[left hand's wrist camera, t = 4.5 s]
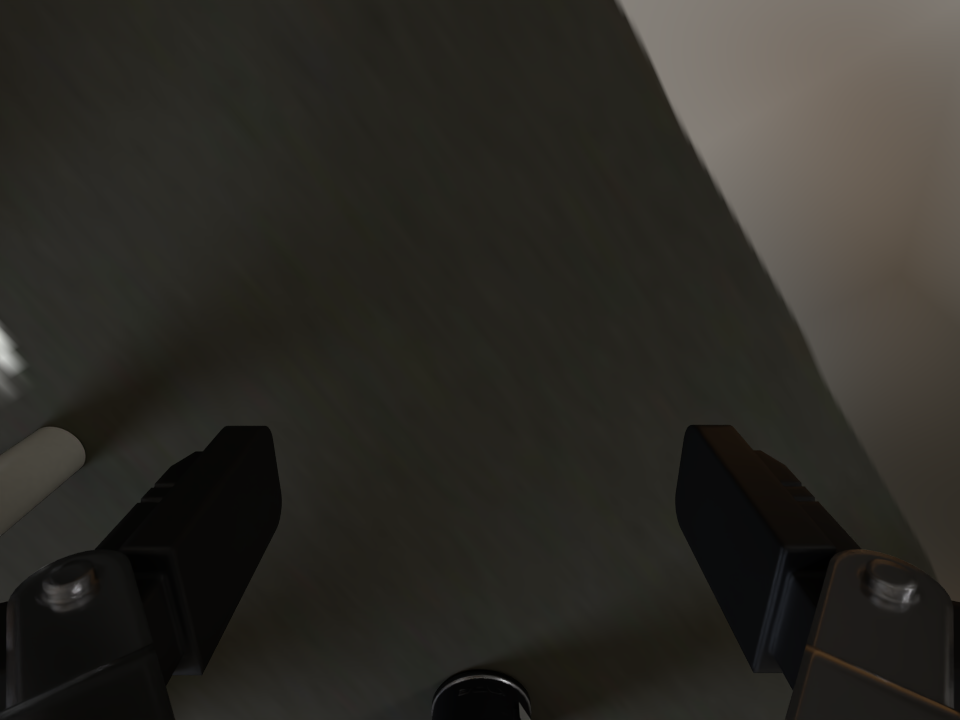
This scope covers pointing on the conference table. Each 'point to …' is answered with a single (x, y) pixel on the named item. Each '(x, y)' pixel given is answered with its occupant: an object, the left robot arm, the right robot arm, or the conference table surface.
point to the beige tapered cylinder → (36, 471)
